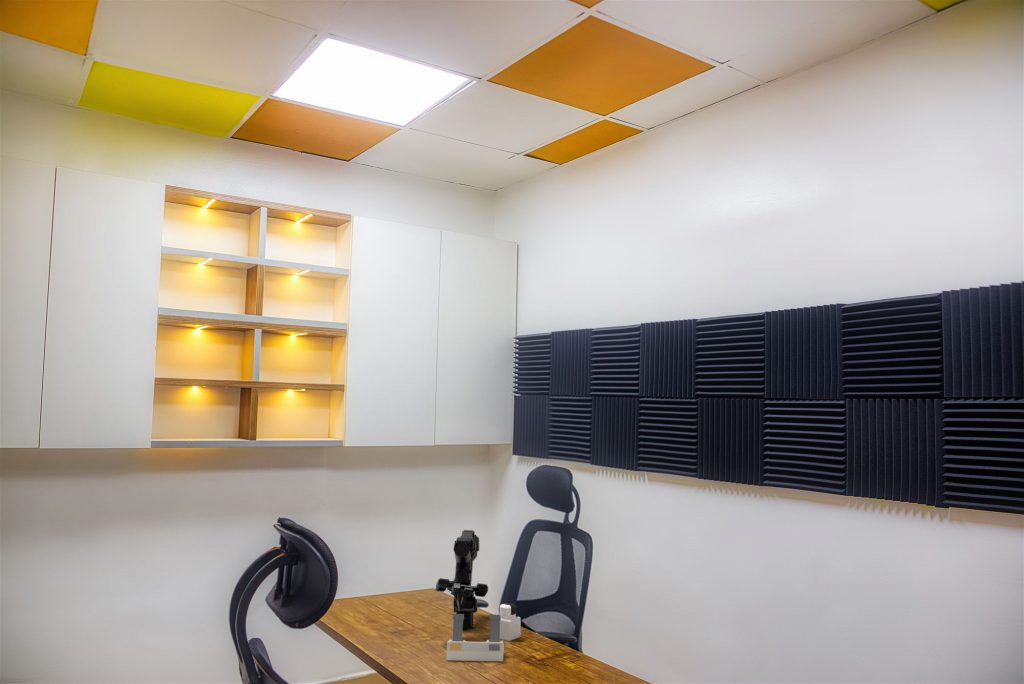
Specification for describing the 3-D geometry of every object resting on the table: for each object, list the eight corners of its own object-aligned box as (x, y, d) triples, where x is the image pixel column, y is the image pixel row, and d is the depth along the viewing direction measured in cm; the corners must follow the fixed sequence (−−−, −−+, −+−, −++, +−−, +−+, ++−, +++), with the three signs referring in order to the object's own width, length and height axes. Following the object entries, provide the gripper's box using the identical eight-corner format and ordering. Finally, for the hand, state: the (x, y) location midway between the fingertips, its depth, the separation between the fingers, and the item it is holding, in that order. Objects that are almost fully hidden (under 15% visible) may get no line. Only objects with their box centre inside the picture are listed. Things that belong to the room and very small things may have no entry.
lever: (489, 645, 259) (490, 615, 263) (500, 645, 259) (500, 615, 263) (489, 645, 257) (490, 614, 261) (499, 645, 257) (500, 614, 261)
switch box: (449, 651, 262) (449, 634, 262) (503, 652, 261) (503, 634, 262) (446, 660, 252) (446, 642, 253) (502, 661, 252) (503, 643, 253)
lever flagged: (452, 645, 259) (453, 614, 263) (462, 645, 259) (463, 614, 263) (451, 644, 257) (453, 613, 261) (462, 644, 257) (463, 614, 261)
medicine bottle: (505, 633, 284) (505, 600, 285) (520, 636, 280) (521, 603, 281) (494, 637, 278) (494, 604, 280) (509, 641, 274) (510, 607, 275)
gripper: (482, 581, 289) (480, 621, 278) (434, 574, 285) (430, 615, 275) (489, 569, 280) (487, 610, 270) (440, 562, 277) (436, 604, 267)
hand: (460, 610), depth 271 cm, fingers closed
